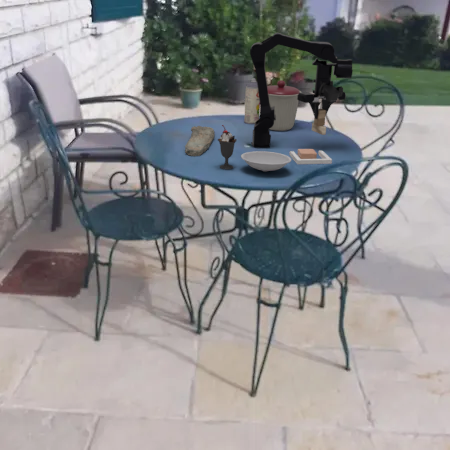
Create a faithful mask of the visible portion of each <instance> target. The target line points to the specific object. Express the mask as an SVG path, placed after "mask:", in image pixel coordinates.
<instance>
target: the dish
mask: <svg viewBox="0 0 450 450" xmlns="http://www.w3.org/2000/svg"><path fill="white" fill-rule="evenodd" d="M240 158H241V159H242V160H243V161H244V162H245V163H246V164H247V165H248V166H249V167H251V168H253V169H255V170H259V171H262V172H264V173H266V172H269V171H270V172H271V171H272V172H273V171H278V170H280V169H282V168H283V167H285V166H286V165H288V164H290V163H291V162H292V157H291V156H290V155H287V154H283V153H280V152H275V151H274V152H273V151H264V150H258V151H256V150H255V151H246V152H244V153H242V154H240Z"/></svg>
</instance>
